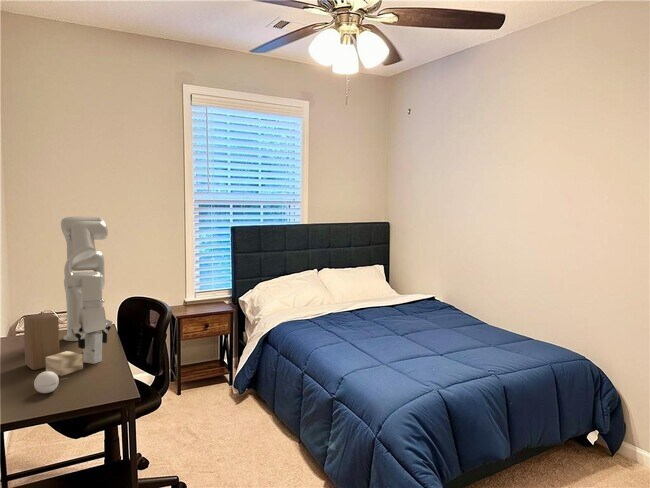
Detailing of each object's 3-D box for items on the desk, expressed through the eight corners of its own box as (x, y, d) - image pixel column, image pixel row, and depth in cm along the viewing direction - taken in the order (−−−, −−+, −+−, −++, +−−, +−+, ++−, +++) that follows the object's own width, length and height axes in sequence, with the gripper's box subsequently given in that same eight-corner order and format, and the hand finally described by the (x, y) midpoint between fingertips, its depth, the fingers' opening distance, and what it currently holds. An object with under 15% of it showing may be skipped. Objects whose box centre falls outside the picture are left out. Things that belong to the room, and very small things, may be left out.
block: (24, 365, 183) (23, 315, 182) (52, 359, 191) (51, 312, 189) (31, 371, 176) (30, 320, 175) (60, 365, 184) (59, 316, 182)
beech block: (67, 365, 184) (67, 350, 184) (82, 369, 181) (82, 354, 180) (45, 372, 176) (45, 357, 176) (61, 376, 172) (61, 360, 172)
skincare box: (82, 362, 188) (82, 333, 187) (91, 359, 192) (90, 330, 191) (94, 364, 186) (94, 334, 185) (103, 360, 190) (102, 332, 189)
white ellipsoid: (32, 398, 152) (31, 376, 151) (36, 390, 158) (35, 369, 158) (66, 394, 156) (66, 373, 155) (69, 386, 162) (68, 366, 162)
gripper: (105, 300, 196) (106, 339, 197) (66, 306, 181) (67, 349, 182) (116, 301, 193) (117, 341, 194) (77, 308, 178) (78, 352, 178)
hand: (93, 345), depth 188 cm, fingers open, 9 cm apart
